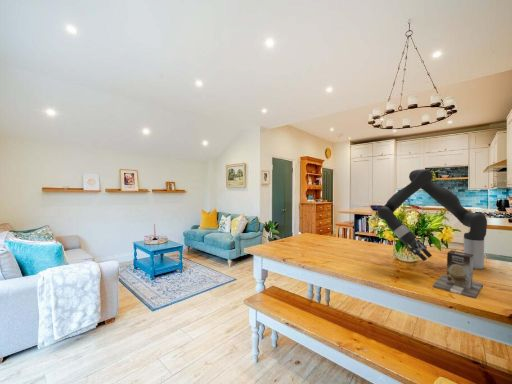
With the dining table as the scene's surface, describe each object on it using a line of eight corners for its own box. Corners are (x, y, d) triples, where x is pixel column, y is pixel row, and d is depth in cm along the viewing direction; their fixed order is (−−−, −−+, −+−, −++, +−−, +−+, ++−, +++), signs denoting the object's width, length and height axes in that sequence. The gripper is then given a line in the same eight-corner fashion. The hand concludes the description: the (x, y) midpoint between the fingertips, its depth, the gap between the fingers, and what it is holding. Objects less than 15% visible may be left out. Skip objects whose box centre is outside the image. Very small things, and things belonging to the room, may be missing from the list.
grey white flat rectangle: (443, 276, 131) (443, 274, 131) (482, 285, 119) (482, 283, 119) (432, 286, 119) (432, 284, 119) (475, 298, 106) (475, 296, 106)
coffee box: (445, 283, 120) (446, 252, 120) (450, 279, 124) (450, 250, 123) (469, 289, 113) (469, 256, 112) (473, 286, 116) (473, 254, 116)
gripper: (405, 232, 130) (429, 257, 122) (414, 228, 139) (437, 252, 131) (394, 240, 135) (418, 265, 126) (404, 236, 143) (426, 259, 135)
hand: (428, 258), depth 128 cm, fingers open, 8 cm apart
